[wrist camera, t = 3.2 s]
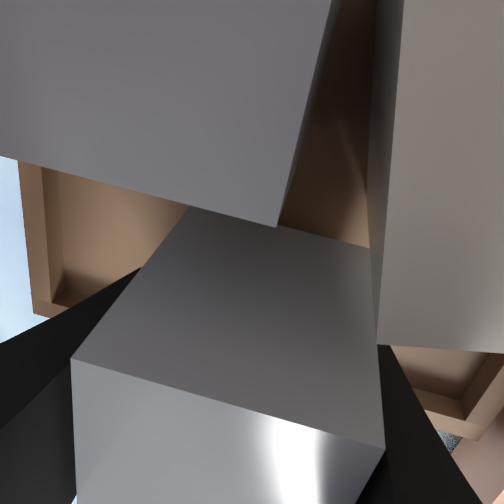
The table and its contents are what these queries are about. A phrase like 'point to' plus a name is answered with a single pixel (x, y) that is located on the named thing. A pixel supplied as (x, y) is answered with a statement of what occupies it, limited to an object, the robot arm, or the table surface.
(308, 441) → the block
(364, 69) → the walnut tray
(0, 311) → the table surface
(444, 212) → the white block
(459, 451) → the terracotta bin
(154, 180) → the block
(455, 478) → the robot arm
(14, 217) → the table surface
